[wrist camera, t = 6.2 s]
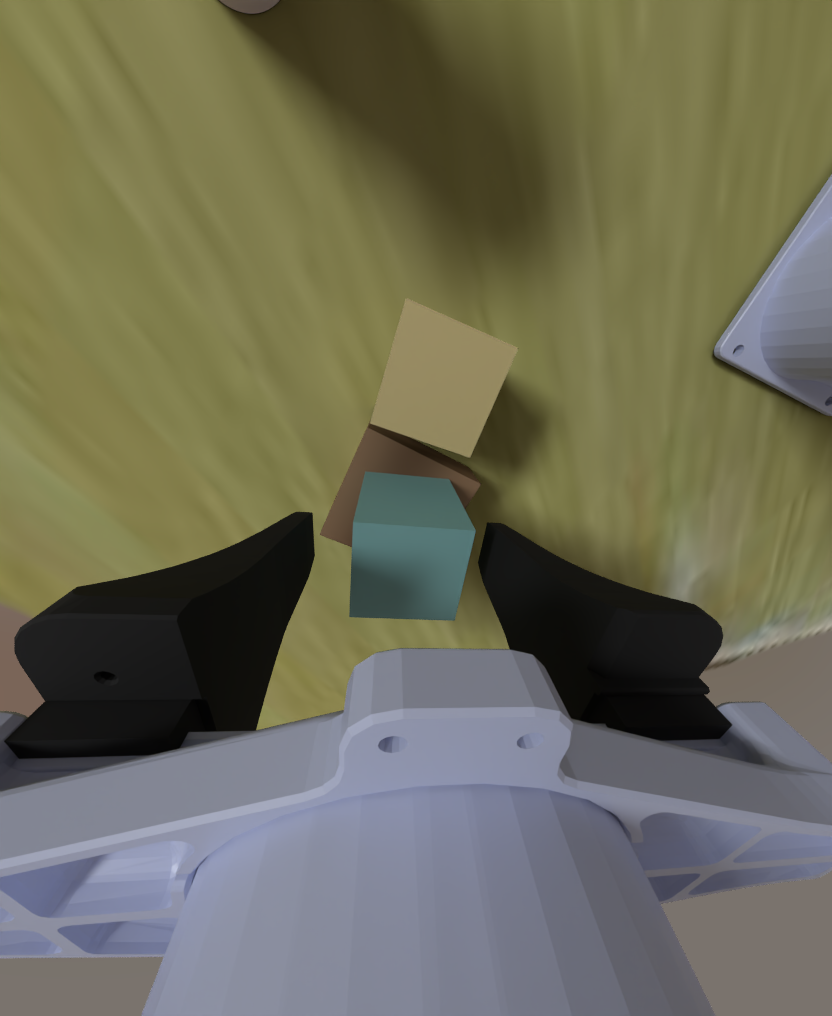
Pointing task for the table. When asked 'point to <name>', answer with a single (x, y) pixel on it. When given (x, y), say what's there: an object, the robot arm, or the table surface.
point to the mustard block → (440, 380)
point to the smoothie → (250, 5)
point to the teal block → (408, 548)
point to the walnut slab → (392, 457)
